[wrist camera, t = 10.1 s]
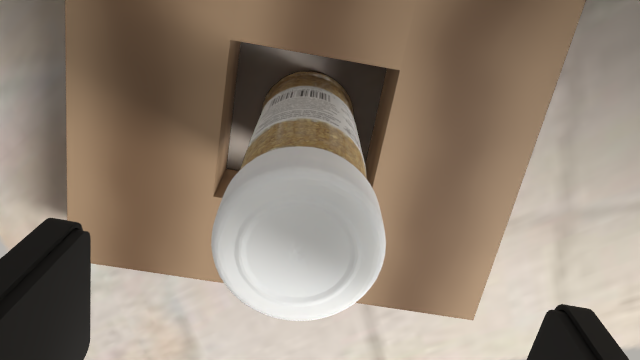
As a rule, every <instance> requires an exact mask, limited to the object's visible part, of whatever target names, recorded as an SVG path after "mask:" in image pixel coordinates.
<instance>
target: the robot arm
mask: <svg viewBox="0 0 640 360" xmlns="http://www.w3.org/2000/svg"><path fill="white" fill-rule="evenodd" d="M90 273H91V237H90V233H89V232H88V231H83V228H82V225H81V224H80V223H79V222H73V221H67V220H61V219H55V218H48V219H46V220H45V221H44V222H43V223H41V224H40V225H39V226H38V227H37V228H36V229H34V230H33V231H32V232H31V233H30V234H29V235H27V236H26V237H25V238H24V239H23V240H22V241H20V242H19V243H18V244H17V245H16V246H15V247H14V248H12V249H11V250H10V251H9V252H8V253H7V254H6V255H5V256H3V257H2V258H1V259H0V360H83V359H84V358H85V356H86V353H87V351H88V348H89V343H90ZM527 360H629V359H628V357H627V356H626V355H625V353H624V352H623V351H622V349H621V348H620V347H619V345H618V344H617V343H616V341H615V340H614V339H613V337H612V336H611V335H610V333H609V332H608V331H607V329H606V328H605V327H604V325H603V324H602V323H601V321H600V320H599V319H598V317H597V316H596V315H595V313H594V312H593V311H592V310H590V309H587V308H581V307H575V306H569V305H563V304H561V305H558V306H557V307H556V308H555V310H549V311H548V312H547V313H546V315H545V317H544V320H543V322H542V324H541V327H540V329H539V332H538V334H537V336H536V339H535V341H534V343H533V346H532V348H531V351H530V353H529V355H528V358H527Z"/></svg>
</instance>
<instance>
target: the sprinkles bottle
mask: <svg viewBox="0 0 640 360" xmlns="http://www.w3.org/2000/svg"><path fill="white" fill-rule="evenodd" d="M211 247H212V255H213V259H214V263H215V266H216V269H217V271H218V274H219V276H220V277H221V279H222V280H223V282H224V283H225V285H226V286H227V288H228V289H229V290H230V291H231V292H232V293H233V294H234V295H235V296H236V297H237V298H238V299H239V300H240V301H242V302H243V303H244V304H246V305H247V306H249V307H250V308H252V309H254V310H256V311H258V312H260V313H262V314H265V315H267V316H270V317H273V318H278V319H284V320H293V321H307V320H316V319H321V318H325V317H328V316H331V315H334V314H337V313H339V312H341V311H343V310H345V309H346V308H348V307H350V306H351V305H353V304H354V303H356V302H357V301H358V300H359V299H360V298H362V297H363V296H364V295H365V294H366V292H367V291H368V290H369V289H370V288H371V286H372V285H373V284H374V282H375V281H376V279H377V277H378V275H379V272H380V271H381V268H382V265H383V262H384V258H385V249H386V238H385V230H384V224H383V220H382V215H381V211H380V207H379V203H378V200H377V197H376V194H375V192H374V190H373V188H372V186H371V185H370V183H369V182H368V180H367V177H366V167H365V162H364V158H363V154H362V150H361V146H360V141H359V137H358V132H357V128H356V124H355V121H354V113H353V107H352V103H351V100H350V97H349V96H348V94H347V93H346V91H345V90H344V88H343V87H342V86H341V85H340V84H339V83H338V82H337V81H335V80H334V79H332V78H331V77H329V76H327V75H325V74H322V73H316V72H296V73H294V74H291V75H288V76H286V77H284V78H282V79H281V80H280V81H279V82H278V83H277V84H276V85H274V86H273V87H272V88H271V90H270V91H269V93H268V94H267V96H266V98H265V100H264V103H263V109H262V113H261V116H260V118H259V120H258V123H257V125H256V127H255V130H254V133H253V135H252V137H251V140H250V143H249V146H248V149H247V151H246V154H245V157H244V160H243V163H242V166H241V169H240V171H239V172H238V173H237V174H236V175H235V176H234V177H233V179H232V180H231V182H230V183H229V185H228V187H227V189H226V191H225V193H224V195H223V198H222V200H221V203H220V206H219V208H218V211H217V214H216V218H215V221H214V224H213V230H212V237H211Z"/></svg>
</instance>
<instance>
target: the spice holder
mask: <svg viewBox="0 0 640 360" xmlns="http://www.w3.org/2000/svg"><path fill="white" fill-rule="evenodd" d="M585 2H586V0H65V44H66V140H67V221H73V222H79V223H80V224H81V225H82V228H83V231H88V232H89V233H90V237H91V263H93V264H99V265H106V266H113V267H120V268H126V269H133V270H140V271H146V272H153V273H160V274H166V275H173V276H180V277H187V278H193V279H200V280H207V281H213V282H220V283H224V282H223V280H222V279H221V277H220V276H219V274H218V271H217V269H216V266H215V263H214V259H213V255H212V247H211V237H212V230H213V224H214V221H215V218H216V214H217V211H218V208H219V206H220V203H221V200H222V198H223V195H224V193H225V191H226V189H227V187H228V185H229V183H230V182H231V180H232V179H233V177H234V176H235V175H236V174H237V173H238V172H239V171H237V170H231V169H226V167H227V158H228V149H229V141H230V132H231V123H232V115H233V106H234V97H235V89H236V80H237V71H238V63H239V54H240V46H241V42H246V43H251V44H257V45H262V46H268V47H273V48H279V49H284V50H290V51H295V52H301V53H307V54H312V55H318V56H323V57H329V58H334V59H340V60H345V61H351V62H357V63H362V64H368V65H373V66H379V67H384V68H387V70H386V75H385V79H384V84H383V88H382V93H381V97H380V102H379V106H378V110H377V115H376V119H375V124H374V128H373V133H372V137H371V142H370V146H369V150H368V155H367V159H366V164H365V167H366V177H367V180H368V182H369V183H370V185H371V186H372V188H373V190H374V192H375V194H376V197H377V200H378V203H379V207H380V211H381V215H382V220H383V224H384V230H385V238H386V249H385V258H384V262H383V265H382V268H381V271H380V272H379V275H378V277H377V279H376V281H375V282H374V284H373V285H372V286H371V288H370V289H369V290H368V291H367V292H366V294H365V295H364V296H363V297H362V298H360V299H359V300H358V301H357V302H356V303H361V304H368V305H374V306H381V307H388V308H395V309H401V310H408V311H415V312H421V313H428V314H435V315H442V316H448V317H455V318H462V319H468V320H473V319H474V316H475V313H476V311H477V308H478V305H479V302H480V299H481V296H482V294H483V291H484V288H485V285H486V282H487V279H488V277H489V274H490V271H491V268H492V265H493V262H494V260H495V257H496V254H497V251H498V248H499V245H500V243H501V240H502V237H503V234H504V231H505V228H506V226H507V223H508V220H509V217H510V214H511V211H512V209H513V206H514V203H515V200H516V197H517V194H518V192H519V189H520V186H521V183H522V180H523V177H524V175H525V172H526V169H527V166H528V163H529V160H530V158H531V155H532V152H533V149H534V146H535V143H536V141H537V138H538V135H539V132H540V129H541V126H542V124H543V121H544V118H545V115H546V112H547V109H548V107H549V104H550V101H551V98H552V95H553V92H554V90H555V87H556V84H557V81H558V78H559V75H560V73H561V70H562V67H563V64H564V61H565V58H566V56H567V53H568V50H569V47H570V44H571V41H572V39H573V36H574V33H575V30H576V27H577V24H578V21H579V19H580V16H581V13H582V10H583V7H584V4H585Z"/></svg>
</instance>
